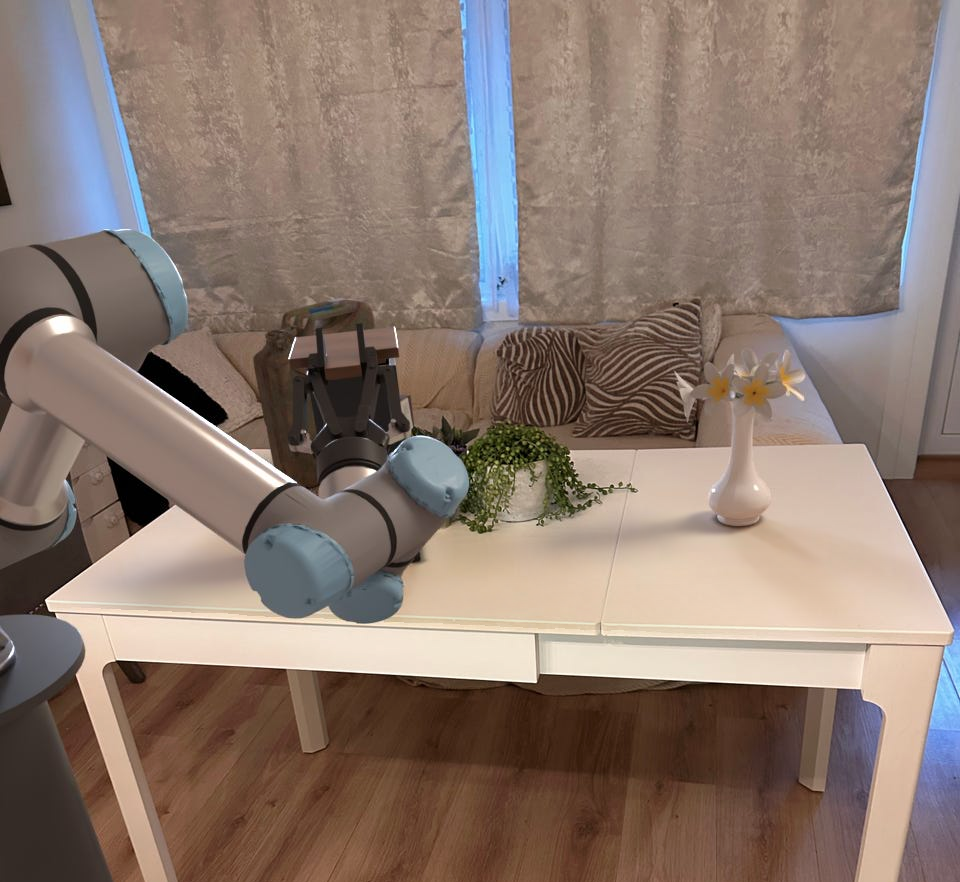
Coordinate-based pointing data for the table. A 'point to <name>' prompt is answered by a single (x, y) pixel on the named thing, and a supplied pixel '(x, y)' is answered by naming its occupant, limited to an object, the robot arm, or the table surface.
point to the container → (279, 377)
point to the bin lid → (345, 351)
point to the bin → (357, 404)
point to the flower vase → (743, 426)
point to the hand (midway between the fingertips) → (340, 335)
